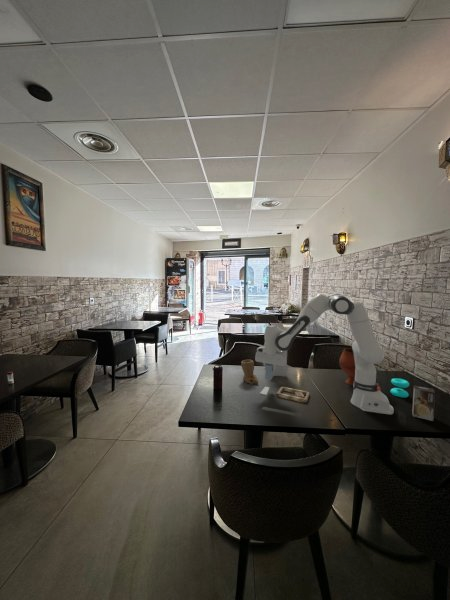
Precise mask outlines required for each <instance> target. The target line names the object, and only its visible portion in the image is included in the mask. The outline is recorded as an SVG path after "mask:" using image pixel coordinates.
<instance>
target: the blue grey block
mask: <svg viewBox="0 0 450 600" xmlns="http://www.w3.org/2000/svg"><path fill="white" fill-rule="evenodd" d="M272 368H274V365H273V364H267V363H266V370H265V376H264V377H265V378H264V379H265V380H270V381H271V380H272V379H273V378H274V377H275V376H274V371H272Z"/></svg>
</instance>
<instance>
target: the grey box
mask: <svg viewBox="0 0 450 600" xmlns="http://www.w3.org/2000/svg"><path fill="white" fill-rule="evenodd" d="M277 351H282V350H279V349H278V348H277ZM283 352H285V353H286V364H285V366H279V365H277V366H276V367H275V366H274V367H275V371H274V376H273V377H287V369H288V368H287V365H288V364H287V363H288V361H287V360H288V350H286V351H283Z"/></svg>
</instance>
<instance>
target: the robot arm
mask: <svg viewBox="0 0 450 600" xmlns="http://www.w3.org/2000/svg"><path fill="white" fill-rule="evenodd" d="M329 310H330V311H332V312H333V313H335V314H338V315H346V317H347V320H348V325H349V328H350V332H351V334H352V336H353V338H354V341H353V342H352V344H351V348H352V349H353V352H354V360H355V379H354V385H352V386H353V387H352V388H353V392H352V396H351V399H350V403H351V405H353V406H355V407H357V408H358V409H360V410H362V411H364V412H369V413H376V414H383V415H384V414H385V415H390V416H391V415H393V414H394V413H395V412H394V411H395V410H394V407H393V406H392V405H391V404H390V401H389V399H388V396H387V395H386V394H384V393H383V392H382V391H381V387H380V385H379V383H377V382H376V379H377V369H376V367H375V364H380V363H382V362H383V361H384V359H385V352H384V350H383V348H381V345H380V344H379V341H378V339H377V337H376V336H375V334H374V331H373V328H372V325H371V321H370V317H369V314H368V312H367V310H366V308H365V306H364V304H363V303H362V302H360V301H353V302H352V301H351V300H350V299H349V298H348V297H346V296H345V295H343V294H338V293H337V294H332V295H329V296H327V295H325V294H322V293H318V294H317V295H315V296H313V297H312V298H311V299H309V301H308V302H307V303H306V304H305V305H304V306H303V307H302V308H301V310H300V312H299V314H298V317H297V318H296V320H295V322H293V324H292V325H291V326H290V327H289V328H288V329H287V331H286V330H285V329H282V328H280V327H279V326H278V325H275V324H274V325H268V326H266V327H265V329H264V337H263V338H264V344H263V345H261V346H259V347H257V348H256V352H255V356H254V361H255V362H257V363H263V366H264V370H265V371H266V365H267V364H273V365H274V366H275V367H276V366H277V365H279V366H285V364H286V353H285V352H283V351H286V350H287V351H288V350H290V349H291V348H292V346H293V343H294V341H295V339H296V338H297V337H298V336H299V335H300V333H302V331H304V330H305V329H306V328H307V327H309V326H310V325H311V324H313V323H315V321H317V320H318V319H319V318H320V317H321V316H322V315H323V314H324V313H325V312H327V311H329ZM277 348H278V349H279V350H282V351H277ZM275 367H274V368H272V371H275Z"/></svg>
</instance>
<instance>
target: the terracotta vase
mask: <svg viewBox="0 0 450 600" xmlns="http://www.w3.org/2000/svg"><path fill="white" fill-rule="evenodd" d="M338 364H339V368H341V370H342V371H343V373H345V374H346V375H347V376H348V378H347V379H346V380H345V383H346V384H347V385H349V386H353V385H354V379H355V360H354V352H353V349H352V347H349V348H348V347H345V348H343V351H342V354H341V355H340V357H339V363H338Z"/></svg>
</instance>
